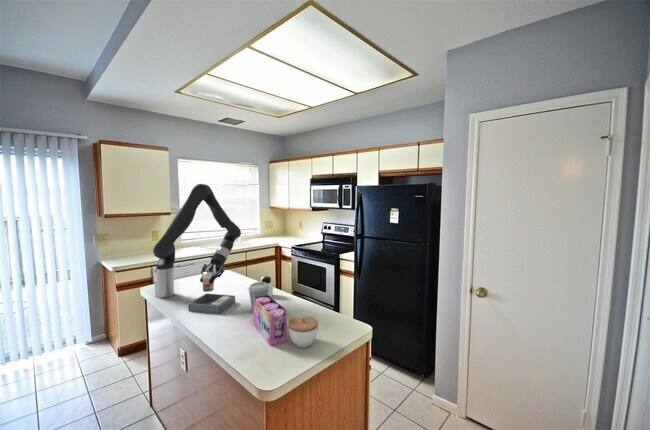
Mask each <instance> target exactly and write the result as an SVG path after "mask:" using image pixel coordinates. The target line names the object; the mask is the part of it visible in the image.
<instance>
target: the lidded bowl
mask: <svg viewBox="0 0 650 430" xmlns="http://www.w3.org/2000/svg"><path fill="white" fill-rule="evenodd" d="M318 326H319V322H318V320H317V319H316V318H315V317H312V316H307V315H301V316H300V315H299V316H294V317H292V318H290V320H289V321H288V335H289V339H290V341H291V342H292V343H293V344H294V345H295V346H296V347H298V348H307V347H310V346H311V345H312V344H313V342H314V341H315V340H316V338H317V337H318V336H317V334H318V330H319V329H318V328H319V327H318Z"/></svg>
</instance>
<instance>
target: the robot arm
mask: <svg viewBox="0 0 650 430" xmlns="http://www.w3.org/2000/svg"><path fill="white" fill-rule="evenodd" d="M202 202H204V203H206V205H207V206H208V207H209V209H210V212H211V214H212V216H213V218H214V219H215V221H216V222H217V224H218V226H219V227H221V228H222V229H225V230H226V233H225V234H224V237H223V238H222V241H221V243H220V244H219V246H218V248H216V251H215V252H214V253H213V256H212V257H211V259H210V262H209V263H208V264H206V263H204V264H203V266H202V269H201V270H200V274H201V277H200V278H199V282H200V283H202V284H203V272H204V271H213V276H212V277H211V279H210V281H209V283H210V284H212V283H213V282H214V283H215V280H216V279H217V278H220V277H221V276H222V275H223V274H224V272H225V271H226V267H225V266H224V265H225V263H226V261H227V259H228V257H229V256H230V253H231V251H232V249H233V247H234V243H235V241H236V240H237V239H238V238H240V237H241V235H242V231H241V229H240V227H239V226H238V225H237V224H236V223H235V222H234V221H232V220H231V218H230V217H229V216H228V214H227V213H226V212H225V210H224V209H223V208H222V206H221V204H220V202H219V201H218V199H217V197H216V196H215V195H214V192H213V190H212V188H211V187H210V186H209V185H208V184H205V183H197V184H195V185H194V186H193V187H192V189H191V191H190V193H189V195H188V197H187V199H186V201H185V202H184V204H183V205H182V206H181V208H180V209H179V211H178V212H177V214H176V215H175V216H174V218H173V220H172V221H171V223H170V225H169V226H168V228H167V229H166V231H165V232H164V234H163V235H162V236H161V238H160V239H159V240H158V241H157V243H156V244H155V245H154V246H153V248H152V249H153V250H152V252H153V255H154V256H155V257H156V258H158V261H157V262H156V265H155V270H156V271H155V272H156V273H155V274H156V277H155V279H156V280H154V296H155V297H156V298H159V299H164V298H170V297H172V296H174V295H175V278H174V276H175V275H174V271H175V269H174V267H175V266H174V265H175V262H176V261H175V260H176V248H175V242H176V241H177V239H179V237H181V236H182V235H183V234H184V233H185V232H186V231H187V230H188V228H189V227H190V225H191V224H192V222H193V220H194V218H195V214H196V211H197V209H198V207H199V206H200V204H201V203H202Z"/></svg>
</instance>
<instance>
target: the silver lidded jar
mask: <svg viewBox="0 0 650 430" xmlns="http://www.w3.org/2000/svg"><path fill="white" fill-rule="evenodd" d="M212 276H213V271H209V270H208V271H203V283H202V291H203V292H204V293H205V292H206V293H207V292H209V293H210V292H212V291H214V290H215V287H214V286H215V285H214V284H215V281H214V282H213V283H212V284H210V283H209V281H210V279H211V277H212Z"/></svg>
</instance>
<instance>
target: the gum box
mask: <svg viewBox="0 0 650 430" xmlns="http://www.w3.org/2000/svg"><path fill="white" fill-rule="evenodd" d="M252 312H253V318H252V319H253V320H252V321H253V326H254V327H255V328H256V330H257V331H258V332H259V333H260V335H261V336H262V337H263V338H264V340H265V341H266V342H267V343H268V345H269V346H273V345H277V344H281V343H284V342H287V321H288V320H287V315H288V314H287V309H286V308H285V307H284V306H282V305H281V304H280V303H278V302H277V301H276V300H275V299H274V298H273V297H272V296H271V297H270V296H269V295H264V296H258V297H254V300H253V311H252Z"/></svg>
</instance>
